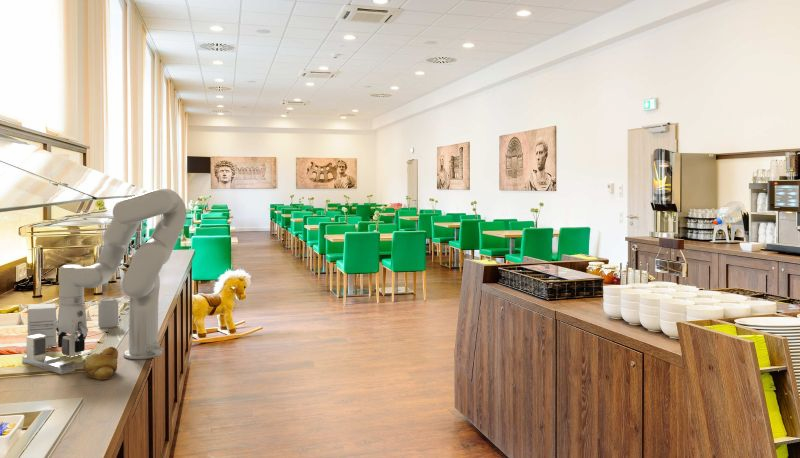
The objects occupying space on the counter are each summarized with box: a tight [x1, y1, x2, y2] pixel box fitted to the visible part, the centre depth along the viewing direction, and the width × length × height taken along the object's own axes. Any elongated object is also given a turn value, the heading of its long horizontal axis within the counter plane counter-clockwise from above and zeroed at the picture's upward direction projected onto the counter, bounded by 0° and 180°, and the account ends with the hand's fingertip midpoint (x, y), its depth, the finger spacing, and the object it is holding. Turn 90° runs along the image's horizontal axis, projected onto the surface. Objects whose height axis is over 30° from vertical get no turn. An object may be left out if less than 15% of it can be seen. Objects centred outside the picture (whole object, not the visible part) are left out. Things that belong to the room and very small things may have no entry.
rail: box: [22, 334, 76, 375], centre depth 191 cm, size 22×4×9 cm, turn 61°
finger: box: [61, 334, 82, 357], centre depth 203 cm, size 5×4×7 cm
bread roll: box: [83, 346, 119, 381], centre depth 184 cm, size 13×10×8 cm
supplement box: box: [27, 302, 57, 349], centre depth 214 cm, size 9×9×15 cm
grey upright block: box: [97, 297, 119, 330], centre depth 244 cm, size 8×8×12 cm
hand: (71, 349), depth 203 cm, fingers open, 9 cm apart
